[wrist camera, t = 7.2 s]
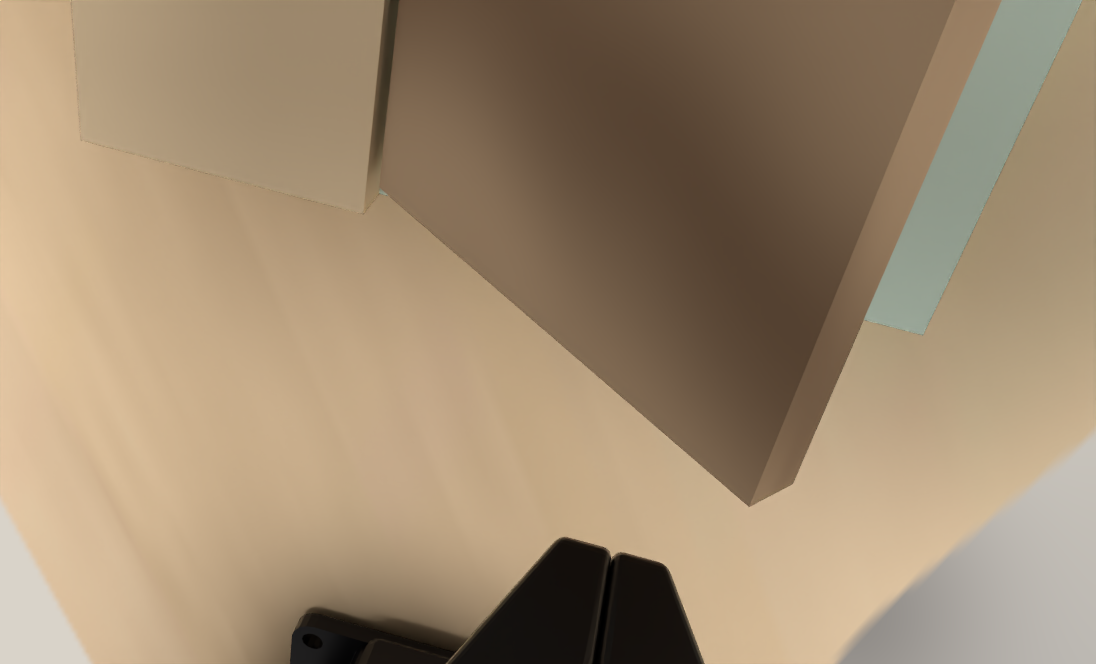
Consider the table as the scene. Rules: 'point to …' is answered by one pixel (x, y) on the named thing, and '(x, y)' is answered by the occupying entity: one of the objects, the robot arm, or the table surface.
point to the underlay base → (363, 91)
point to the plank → (682, 187)
